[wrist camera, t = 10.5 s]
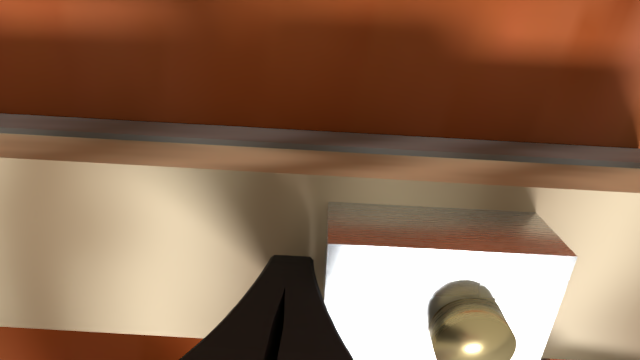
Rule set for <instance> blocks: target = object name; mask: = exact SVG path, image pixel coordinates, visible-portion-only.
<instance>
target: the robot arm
mask: <svg viewBox="0 0 640 360" xmlns="http://www.w3.org/2000/svg"><path fill="white" fill-rule="evenodd" d="M179 360H354V358H353V357H352V355H351V354H350V352H349V350H348V349H347V347H346V345H345V344H344V342H343V340H342V338H341V336H340V335H339V333H338V331H337V329H336V327H335V325H334V323H333V321H332V319H331V317H330V314H329V312H328V310H327V307H326V305H325V302H324V300H323V297H322V295H321V292H320V289H319V286H318V283H317V279H316V275H315V270H314V260H313V259H312V258H311V257H308V256H289V255H273V256H272V257H271V258H270V259H269V261H268V263H267V264H266V266H265V268H264V269H263V271H262V272H261V274H260V275H259V276H258V278H257V279H256V281H255V282H254V283H253V285H252V286H251V287H250V288H249V290H248V291H247V292H246V294H245V295H244V296H243V297H242V299H241V300H240V301H239V302H238V303H237V304H236V306H235V307H234V308H233V309H232V310H231V311H230V312H229V313H228V315H227V316H226V317H225V318H224V319H223V320H222V321H221V322H220V323H219V324H218V325H217V326H216V327H215V328H214V329H213V330H212V331H211V332H210V333H209V334H208V335H207V336H206V337H205V338H204V339H203V340H202V341H200V342H199V343H198V344H197V345H196V346H195V347H194V348H192V349H191V350H190V351H189V352H188V353H186V354H185V355H184V356H183V357H182V358H180V359H179Z"/></svg>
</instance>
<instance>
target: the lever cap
mask: <svg viewBox="0 0 640 360" xmlns="http://www.w3.org/2000/svg"><path fill="white" fill-rule="evenodd" d="M577 257H578V256H577V255H576V254H575V253H574V252H573V251H572V250H571V249H570V248H569V247H568V246H567V245H566V244H565V243H564V242H563V241H562V240H561V238H560V237H559V236H558V235H557V234H556V233H555V232H554V231H553V230H552V229H551V228H550V227H549V226H548V225H547V224H546V223H545V221H544V220H543V219H542V218H541V217H540V216H539V215H538V214H537V213H536V212H518V211H499V210H480V209H460V208H441V207H421V206H402V205H382V204H363V203H343V202H328V217H327V234H326V251H325V268H324V285H323V300H324V302H325V305H326V307H327V310H328V312H329V314H330V317H331V319H332V321H333V323H334V325H335V327H336V329H337V331H338V333H339V335H340V336H341V338H342V340H343V342H344V344H345V345H346V347H347V349H348V350H349V352H350V354H351V355H352V357H353V358H354V360H540V359H541V356H542V353H543V351H544V348H545V345H546V342H547V340H548V337H549V334H550V331H551V329H552V326H553V323H554V320H555V318H556V315H557V312H558V309H559V307H560V304H561V301H562V298H563V296H564V293H565V290H566V287H567V285H568V282H569V279H570V276H571V274H572V271H573V268H574V265H575V263H576V260H577Z"/></svg>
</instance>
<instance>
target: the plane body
mask: <svg viewBox="0 0 640 360" xmlns="http://www.w3.org/2000/svg"><path fill="white" fill-rule="evenodd" d="M328 202H343V203H363V204H382V205H402V206H421V207H441V208H460V209H480V210H499V211H518V212H536V213H537V214H538V215H539V216H540V217H541V218H542V219H543V220H544V221H545V223H546V224H547V225H548V226H549V227H550V228H551V229H552V230H553V231H554V232H555V233H556V234H557V235H558V236H559V237H560V238H561V240H562V241H563V242H564V243H565V244H566V245H567V246H568V247H569V248H570V249H571V250H572V251H573V252H574V253H575V254H576V255H577V256H578V257H577V260H576V263H575V265H574V268H573V271H572V274H571V276H570V279H569V282H568V285H567V287H566V290H565V293H564V296H563V298H562V301H561V304H560V307H559V309H558V312H557V315H556V318H555V320H554V323H553V326H552V329H551V331H550V334H549V337H548V340H547V342H546V345H545V348H544V351H543V353H542V356H541V358H549V359H566V360H640V149H637V148H619V147H601V146H583V145H564V144H546V143H528V142H510V141H492V140H474V139H456V138H437V137H419V136H401V135H383V134H365V133H347V132H329V131H310V130H292V129H274V128H256V127H238V126H220V125H202V124H183V123H165V122H147V121H129V120H111V119H93V118H74V117H56V116H38V115H20V114H2V113H0V327H17V328H34V329H51V330H68V331H86V332H103V333H120V334H137V335H154V336H171V337H189V338H205V337H206V336H207V335H208V334H209V333H210V332H211V331H212V330H213V329H214V328H215V327H216V326H217V325H218V324H219V323H220V322H221V321H222V320H223V319H224V318H225V317H226V316H227V315H228V313H229V312H230V311H231V310H232V309H233V308H234V307H235V306H236V304H237V303H238V302H239V301H240V300H241V299H242V297H243V296H244V295H245V294H246V292H247V291H248V290H249V288H250V287H251V286H252V285H253V283H254V282H255V281H256V279H257V278H258V276H259V275H260V274H261V272H262V271H263V269H264V268H265V266H266V264H267V263H268V261H269V259H270V258H271V257H272V256H273V255H289V256H308V257H311V258H312V259H313V260H314V270H315V275H316V279H317V283H318V286H319V289H320V292H321V295H322V297H323V285H324V268H325V251H326V234H327V217H328Z"/></svg>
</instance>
